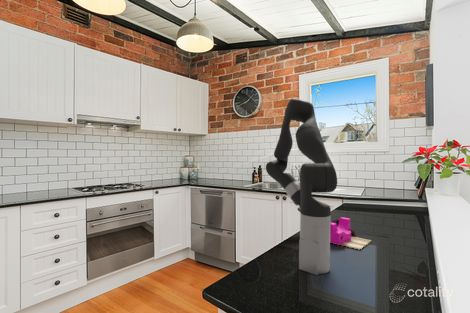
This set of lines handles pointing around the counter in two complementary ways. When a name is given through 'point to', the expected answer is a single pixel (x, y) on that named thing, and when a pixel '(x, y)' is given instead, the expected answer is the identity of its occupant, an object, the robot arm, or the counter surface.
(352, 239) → the beige piece
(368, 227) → the counter surface
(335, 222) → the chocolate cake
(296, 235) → the counter surface
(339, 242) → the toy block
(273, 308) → the counter surface
